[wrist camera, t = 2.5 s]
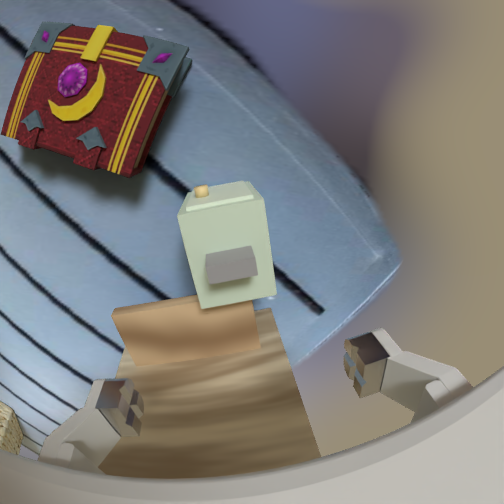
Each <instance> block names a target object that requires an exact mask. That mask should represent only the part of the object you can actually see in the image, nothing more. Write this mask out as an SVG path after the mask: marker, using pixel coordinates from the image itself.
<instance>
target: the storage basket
mask: <svg viewBox="0 0 504 504" xmlns="http://www.w3.org/2000/svg"><path fill="white" fill-rule="evenodd" d="M22 439H23V433H22V431H21V428H20V426H19V423H18V420H17V418H16V415H15V413H14V411H13V410H12V409H11V408H10V407H8V406H7V405H6V404H4V403H3V402H1V401H0V449H2V450H5V451H8V452H10V453H13V454H16V455H19V451H20V447H21V443H22Z"/></svg>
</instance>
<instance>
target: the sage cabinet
mask: <svg viewBox="0 0 504 504" xmlns="http://www.w3.org/2000/svg"><path fill="white" fill-rule="evenodd" d="M177 217H178V221H179V226H180V230H181V234H182V238H183V242H184V246H185V250H186V254H187V258H188V262H189V265H190V269H191V273H192V277H193V280H194V284H195V288H196V291H197V295H198V298H199V302H200V305H201V309H205V308H210V307H216V306H221V305H227V304H232V303H237V302H243V301H248V300H253V299H258V298H263V297H268V296H272V295H277V292H276V285H275V277H274V269H273V262H272V255H271V247H270V240H269V233H268V226H267V219H266V211H265V205H264V199H263V198H262V196H261V195H260V194H259V193H258V192H257V191H256V189H255V188H254V187H253V186H252V185H251V184H250V182H249V181H248V182H243V181H238V182H233V183H227V184H222V185H216V186H211V187H208V186H207V185H200V186H196V187H194V190H193V191H192V192H190V193H188V194H187V196H186V198H185V200H184V202H183V204H182V206H181V208H180V211H179V213H178V215H177Z"/></svg>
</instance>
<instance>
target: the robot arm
mask: <svg viewBox="0 0 504 504" xmlns="http://www.w3.org/2000/svg"><path fill="white" fill-rule="evenodd" d="M344 348H345V349H346V351H347V352H346V354H345V355H344V367H345V371H346V373H347V375H348V377H349V379H352V380H354V385H353V387H354V388H355V390H356V392H357V394H358V396H359V397H360V398H363V397H365V396H369V395H371V394H374V393H377V392H380V393H382V394H384V395H386V396H387V397H389V398H391V399H392V400H394V401H396V402H398V403H399V404H401V405H403V406H405V407H407V408H408V409H410V410H412V411H414V412H415V414H414V416H413V419H412V421H411V423H410V424H408V425H406V426H404V427H402V428H399V429H397V430H395V431H393V432H390V433H388V434H386V435H383V436H381V437H379V438H376V439H373V440H371V441H368V442H366V443H363V444H360V445H358V446H355V447H352V448H349V449H346V450H343V451H340V452H337V453H334V454H330V455H327V456H324V457H320V458H316V459H313V460H309V461H305V462H301V463H297V464H293V465H288V466H284V467H279V468H274V469H268V470H263V471H257V472H250V473H244V474H236V475H227V476H217V477H204V478H182V479H156V478H134V477H122V476H112V475H106V474H105V473H104V472H103V471H101V470H100V469H99V468H98V466H99V465H100V464H101V463H102V461H103V460H104V459H105V457H106V456H107V455H108V454H109V452H110V451H111V450H112V449H113V447H114V446H115V445H116V443H117V442H118V441H119V440H120V438H121V437H132V436H140V431H141V425H142V423H141V421H140V420H139V418H140V417H141V416H142V415H143V413H144V402H143V399H142V396H141V395H140V393H139V392H138V391H136V390H134V383H133V382H132V380H131V379H129V378H120V379H96V380H95V381H94V382H93V385H92V387H91V390H90V393H89V395H88V398H87V401H86V403H85V406H84V408H80V409H79V410H78V411H77V412H76V413H75V414H73V415H72V416H71V417H70V418H69V419H68V420H66V421H65V422H64V423H63V424H62V425H61V426H59V427H58V428H57V429H56V430H55V431H54V432H52V433H51V434H50V435H49V436H48V437H47V438H45V441H44V444H43V446H42V449H41V452H40V455H39V458H38V461H36V460H32V459H29V458H25V457H22V456H19V455H16V454H13V453H10V452H8V451H5V450H2V449H0V504H504V366H502V367H501V368H500V369H499V370H497V371H496V372H495V373H493V374H492V375H491V376H489V377H488V378H486V379H485V380H483V381H482V382H481V383H479V384H478V385H476V386H475V387H473V386H471V384H470V383H469V382H468V381H467V380H466V378H465V377H464V376H463V375H462V374H461V373H460V372H459V371H458V369H457V368H455V367H451V366H449V365H446V364H443V363H440V362H437V361H434V360H431V359H428V358H425V357H422V356H419V355H416V354H414V353H411V352H408V351H405V352H402V350H401V349H400V348H399V347H398V346H397V344H396V343H395V342H394V341H393V339H392V338H391V337H390V336H389V335H388V334H387V332H386V331H385V330H384V329H383V328H379V329H376V330H373V331H370V332H367V333H364V334H361V335H358V336H355V337H351V338H348V339H346V340H345V343H344Z"/></svg>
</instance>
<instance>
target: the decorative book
mask: <svg viewBox="0 0 504 504" xmlns="http://www.w3.org/2000/svg"><path fill="white" fill-rule="evenodd" d="M188 51H189V47H187V46H183V45H180V44H177V43H173V42H169V41H165V40H162V39H158V38H153V37H149V36H145V35H144V36H143V37H139V36H135V35H130V34H125V33H120V32H118V31H117V30H116V29H115V28H114V27H110V26H103V25H98V26H97V27H96V28H88V27H80V26H75V25H73V24H70V23H57V22H42V24H41V26H40V27H39V29H38V31H37V33H36V35H35V37H34V39H33V41H32V43H31V45H30V48H29V50H28V52H27V54H26V56H25V59H26V61H25V63H24V66H23V68H22V71H21V73H20V76H19V78H18V81H17V83H16V86H15V89H14V92H13V95H12V98H11V101H10V104H9V107H8V110H7V113H6V117H5V120H4V124H3V128H2V132H1V135H4V136H7V137H10V138H14V139H17V140H19V142H18V144H19V145H22V146H25V147H28V148H31V149H39V148H44V149H47V150H50V151H53V152H56V153H59V154H62V155H65V156H68V157H71V158H74V162H73V163H75V164H78V165H80V166H83V167H86V168H89V169H92V170H96V169H99V168H103V169H105V170H108V171H111V172H114V173H117V174H119V175H122V176H125V177H128V178H130V177H132V176H134V175H136V174H139V173H141V171H142V168H143V166H144V163H145V160H146V158H147V155H148V152H149V150H150V147H151V145H152V142H153V140H154V137H155V135H156V132H157V130H158V127H159V125H160V123H161V120H162V118H163V116H164V113H165V111H166V109H167V107H168V104H169V102H170V100H171V98H172V97H174V96H175V94H176V92H177V90H178V88H179V86H180V84H181V82H182V80H183V78H184V76H185V74H186V72H187V70H188V68H189V66H190V65H191V63H192V59H190V58H187V57H186V55H187V53H188Z"/></svg>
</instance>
